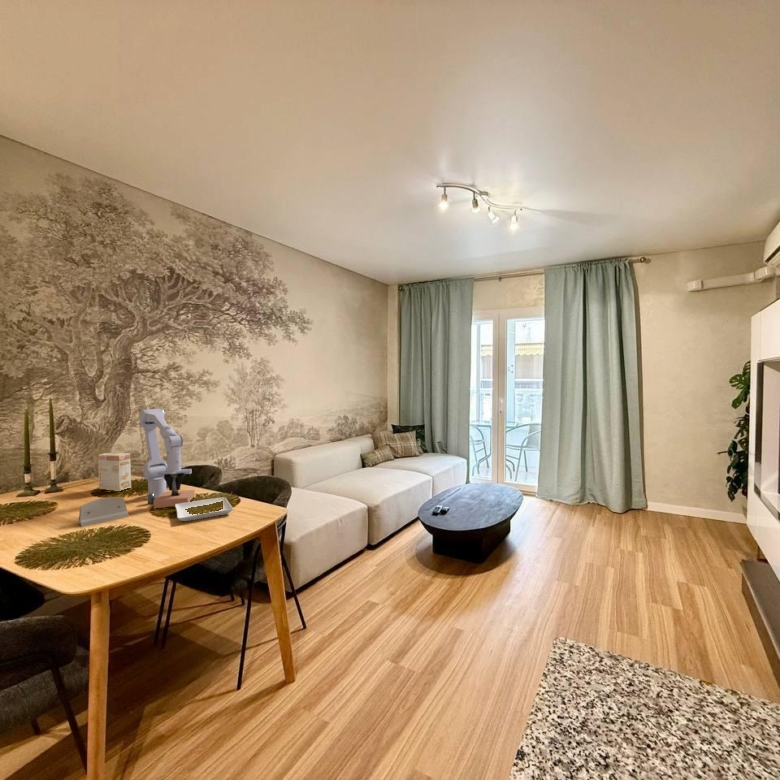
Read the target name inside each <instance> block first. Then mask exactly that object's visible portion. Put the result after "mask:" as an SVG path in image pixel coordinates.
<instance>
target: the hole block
mask: <svg viewBox="0 0 780 780" xmlns="http://www.w3.org/2000/svg"><path fill="white" fill-rule="evenodd" d="M195 494H196V493H195V489H189V490H188V489H187V490H186V489H185V490H178V496H172V493H171V491H167V492H163V493H161V494H160V495H159V496H158V497H157V498H154V499H155V500H153V501H154V504H153V510H157V509H156V508H161V507H167V506H174V505H175V504H179V503H186V502H190V500H191V499H192V498H193V497H194V496H195ZM195 497H196V496H195Z"/></svg>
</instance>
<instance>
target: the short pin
mask: <svg viewBox="0 0 780 780" xmlns="http://www.w3.org/2000/svg"><path fill="white" fill-rule="evenodd" d="M146 497H148V499H147V505H154V501H153V500H155V499H156V498H154V493H151V494H147V495H146Z"/></svg>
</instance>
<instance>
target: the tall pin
mask: <svg viewBox="0 0 780 780" xmlns="http://www.w3.org/2000/svg"><path fill="white" fill-rule="evenodd" d="M178 491H179V490H177V475H173V476H172V477H171V491H170V492H171V493H172V496H178Z"/></svg>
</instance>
